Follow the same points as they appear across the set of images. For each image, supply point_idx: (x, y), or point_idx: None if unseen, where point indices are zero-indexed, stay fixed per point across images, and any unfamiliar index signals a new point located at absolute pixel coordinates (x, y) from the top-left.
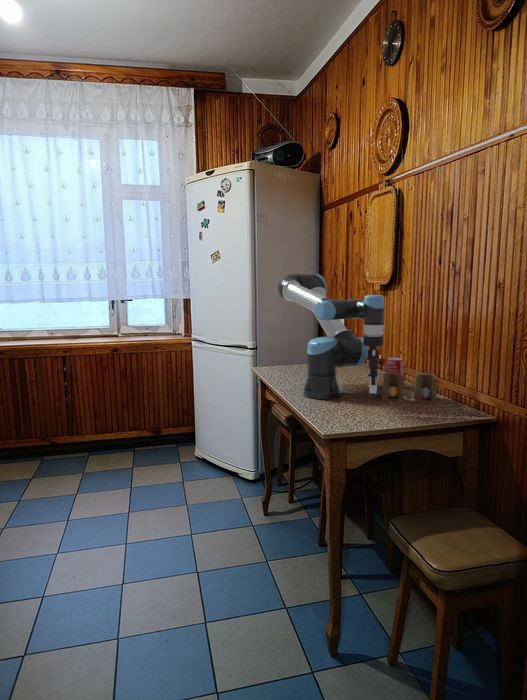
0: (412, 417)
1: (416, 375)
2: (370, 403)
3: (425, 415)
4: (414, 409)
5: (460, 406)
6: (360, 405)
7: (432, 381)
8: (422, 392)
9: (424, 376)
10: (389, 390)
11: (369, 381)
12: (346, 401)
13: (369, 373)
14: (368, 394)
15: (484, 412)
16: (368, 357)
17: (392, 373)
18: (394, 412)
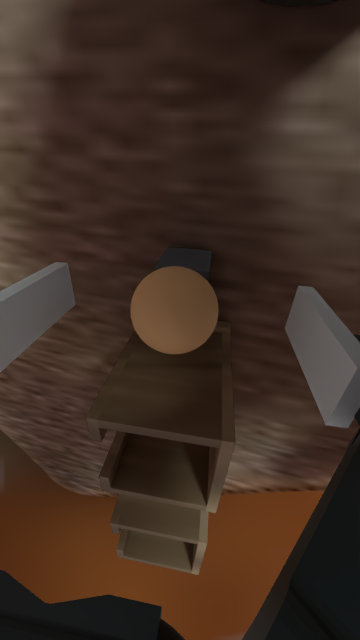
0: None
1: (165, 535)
2: (106, 253)
3: (21, 398)
4: (72, 390)
5: None
6: (52, 192)
7: (121, 532)
8: None
9: (195, 545)
10: None
11: (139, 298)
12: (114, 87)
13: (332, 344)
14: (161, 258)
15: (99, 495)
16: (267, 625)
17: (213, 479)
18: None
